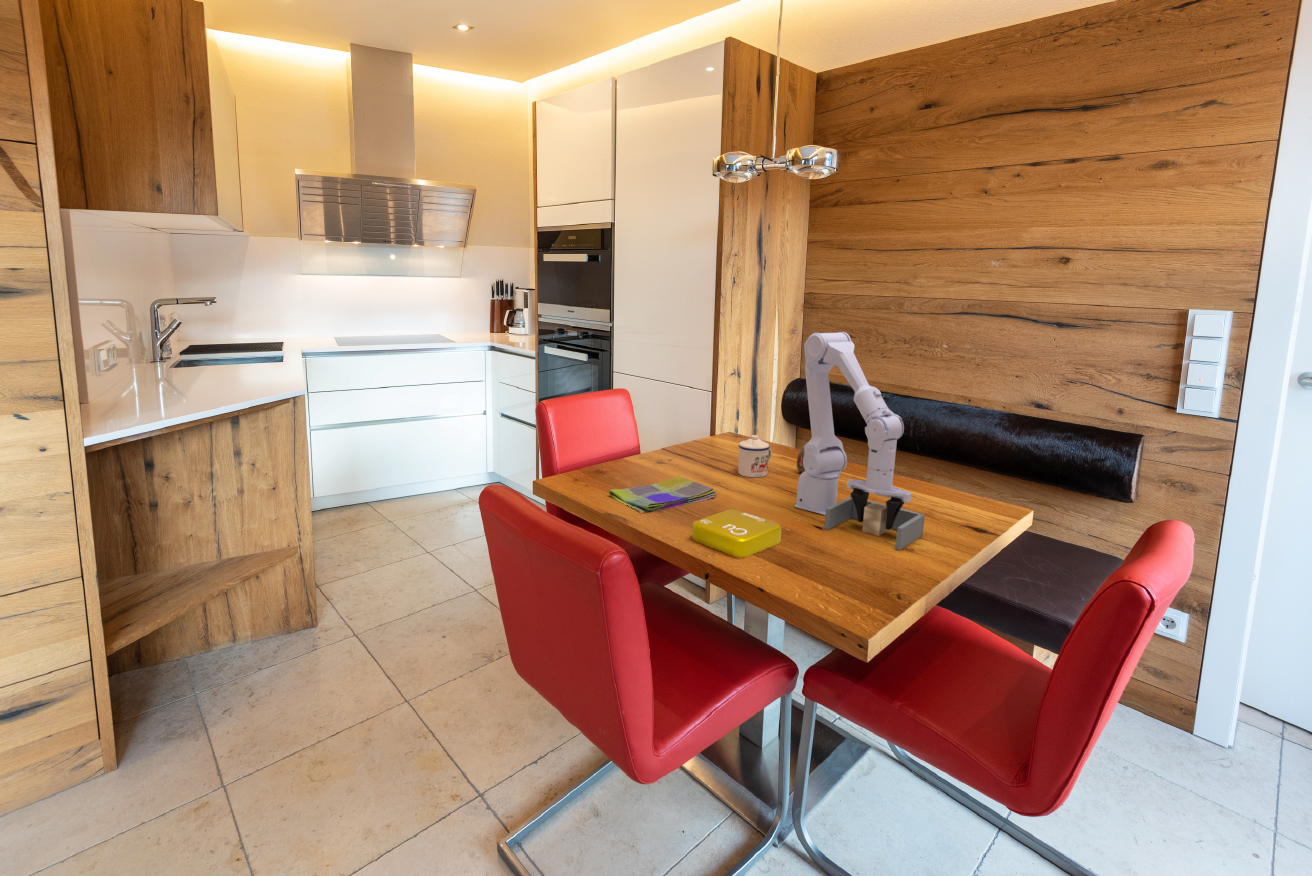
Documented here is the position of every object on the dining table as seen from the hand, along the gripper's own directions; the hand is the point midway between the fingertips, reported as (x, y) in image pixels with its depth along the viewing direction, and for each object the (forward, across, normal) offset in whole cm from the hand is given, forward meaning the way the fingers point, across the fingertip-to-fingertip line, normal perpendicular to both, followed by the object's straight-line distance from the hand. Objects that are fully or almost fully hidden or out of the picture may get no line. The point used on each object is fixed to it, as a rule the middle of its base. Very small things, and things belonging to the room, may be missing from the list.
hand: (875, 524), depth 154 cm
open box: (+2, 0, -1) cm, 2 cm away
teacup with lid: (+2, -46, +20) cm, 51 cm away
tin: (+2, -36, +35) cm, 51 cm away
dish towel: (+2, -51, -16) cm, 54 cm away
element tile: (+2, -20, -27) cm, 33 cm away
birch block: (+2, 0, 0) cm, 2 cm away
